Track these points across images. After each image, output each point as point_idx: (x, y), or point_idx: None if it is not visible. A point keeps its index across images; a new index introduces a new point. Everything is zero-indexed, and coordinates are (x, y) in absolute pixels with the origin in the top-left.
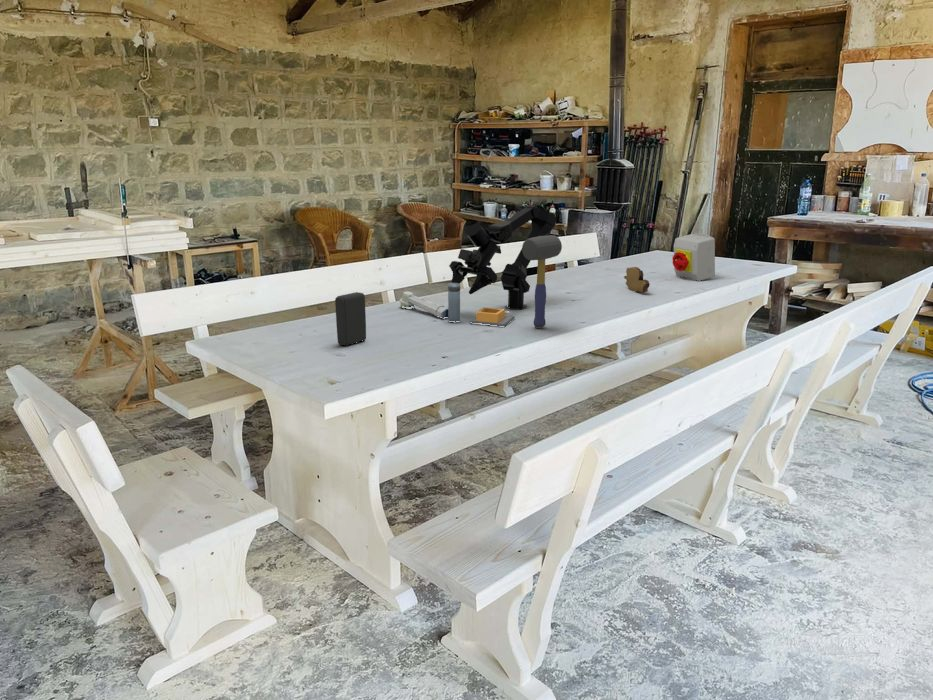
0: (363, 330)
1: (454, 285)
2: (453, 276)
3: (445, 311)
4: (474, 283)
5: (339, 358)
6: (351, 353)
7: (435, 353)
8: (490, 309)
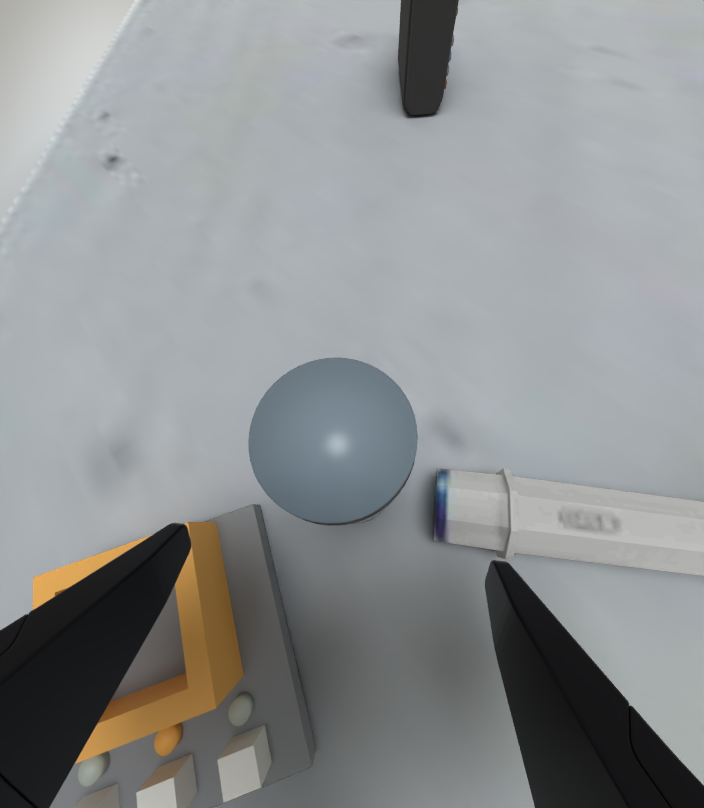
0: (405, 61)
1: (279, 383)
2: (684, 796)
3: (436, 489)
4: (41, 625)
5: (332, 32)
6: (341, 57)
7: (152, 165)
8: (152, 701)
